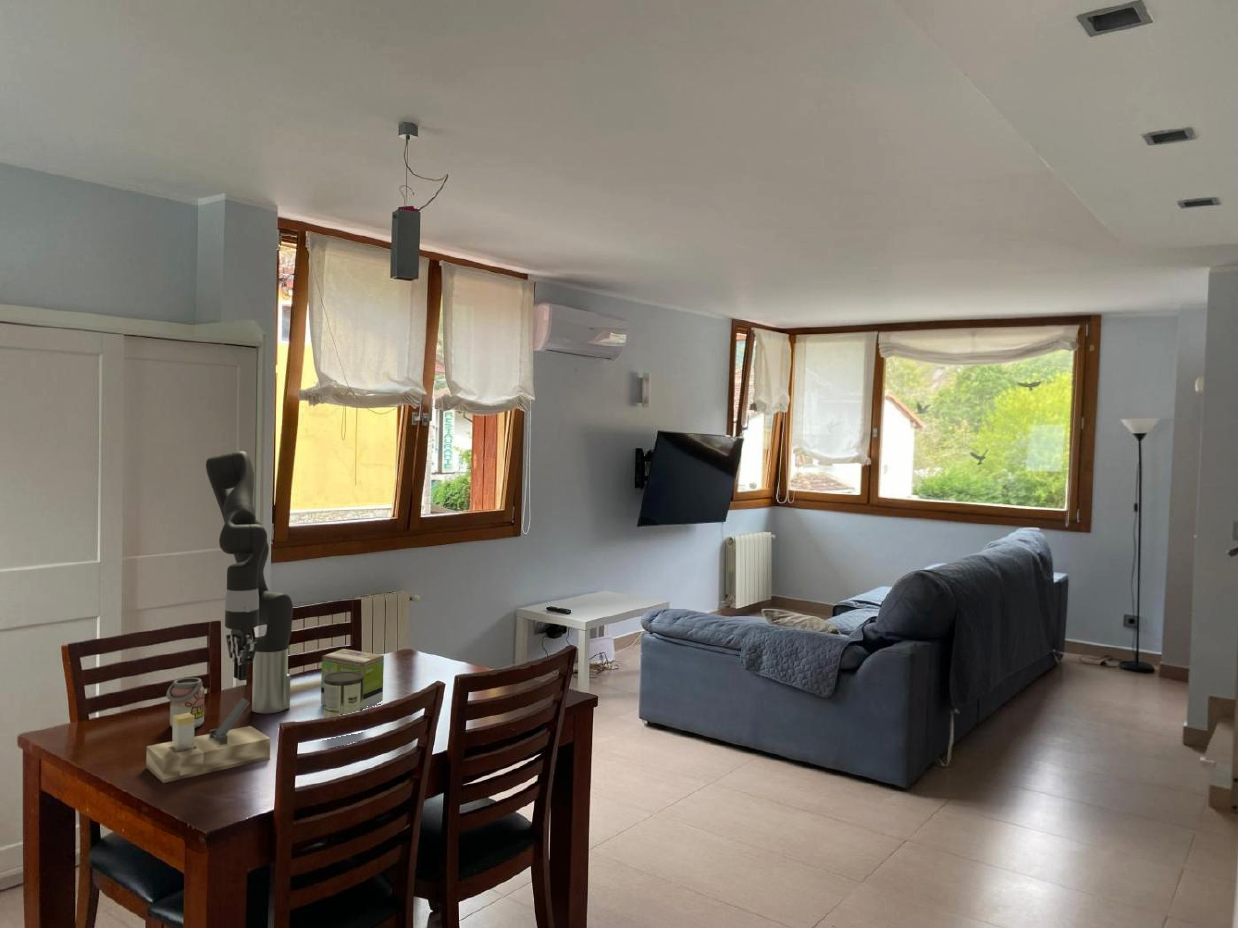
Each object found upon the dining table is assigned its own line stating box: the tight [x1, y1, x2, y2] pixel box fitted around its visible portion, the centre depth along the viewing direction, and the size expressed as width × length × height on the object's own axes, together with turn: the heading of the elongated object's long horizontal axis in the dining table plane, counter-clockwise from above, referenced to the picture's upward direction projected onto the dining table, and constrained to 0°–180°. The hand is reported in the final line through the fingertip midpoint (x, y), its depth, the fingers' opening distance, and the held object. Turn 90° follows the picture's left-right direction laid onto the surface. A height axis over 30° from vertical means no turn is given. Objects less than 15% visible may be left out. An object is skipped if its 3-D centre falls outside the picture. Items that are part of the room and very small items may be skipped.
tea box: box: [320, 648, 385, 709], centre depth 263 cm, size 15×10×15 cm, turn 68°
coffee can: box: [323, 672, 364, 719], centre depth 242 cm, size 10×10×14 cm
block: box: [145, 725, 271, 784], centre depth 214 cm, size 24×12×7 cm, turn 134°
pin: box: [171, 713, 195, 753], centre depth 210 cm, size 4×4×12 cm
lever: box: [212, 697, 251, 741], centre depth 217 cm, size 11×4×1 cm
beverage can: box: [165, 677, 205, 729], centre depth 240 cm, size 9×8×12 cm
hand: (240, 678), depth 218 cm, fingers closed
